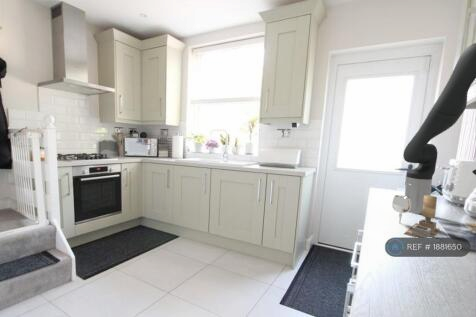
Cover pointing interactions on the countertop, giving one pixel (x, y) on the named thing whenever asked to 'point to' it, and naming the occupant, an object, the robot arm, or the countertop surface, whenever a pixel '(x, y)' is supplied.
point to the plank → (422, 229)
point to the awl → (429, 207)
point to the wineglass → (401, 205)
